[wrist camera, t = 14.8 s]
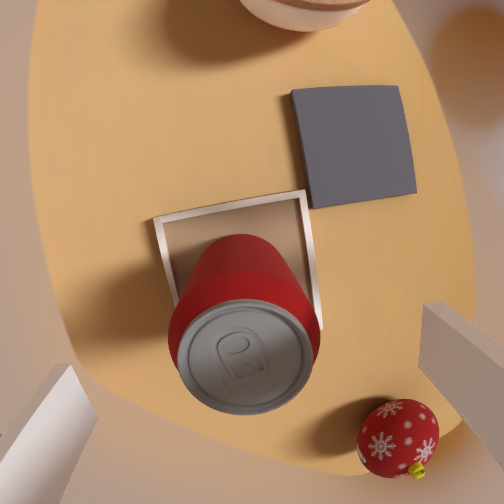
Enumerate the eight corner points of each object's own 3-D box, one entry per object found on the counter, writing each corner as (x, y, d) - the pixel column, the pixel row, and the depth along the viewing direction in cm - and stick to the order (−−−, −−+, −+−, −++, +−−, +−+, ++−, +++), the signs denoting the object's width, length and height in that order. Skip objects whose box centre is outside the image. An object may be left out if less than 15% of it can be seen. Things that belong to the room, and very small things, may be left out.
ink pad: (289, 93, 21) (292, 89, 20) (392, 88, 21) (398, 85, 21) (310, 207, 23) (313, 208, 22) (411, 192, 23) (417, 193, 22)
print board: (157, 216, 23) (152, 217, 22) (301, 189, 23) (305, 189, 22) (190, 344, 25) (187, 353, 24) (319, 322, 25) (323, 329, 24)
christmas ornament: (412, 427, 29) (447, 482, 20) (346, 448, 29) (371, 513, 20) (421, 373, 28) (470, 429, 18) (347, 396, 28) (382, 468, 18)
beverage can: (218, 330, 24) (207, 441, 12) (180, 253, 23) (128, 322, 11) (299, 298, 24) (348, 394, 12) (266, 216, 22) (298, 254, 11)
